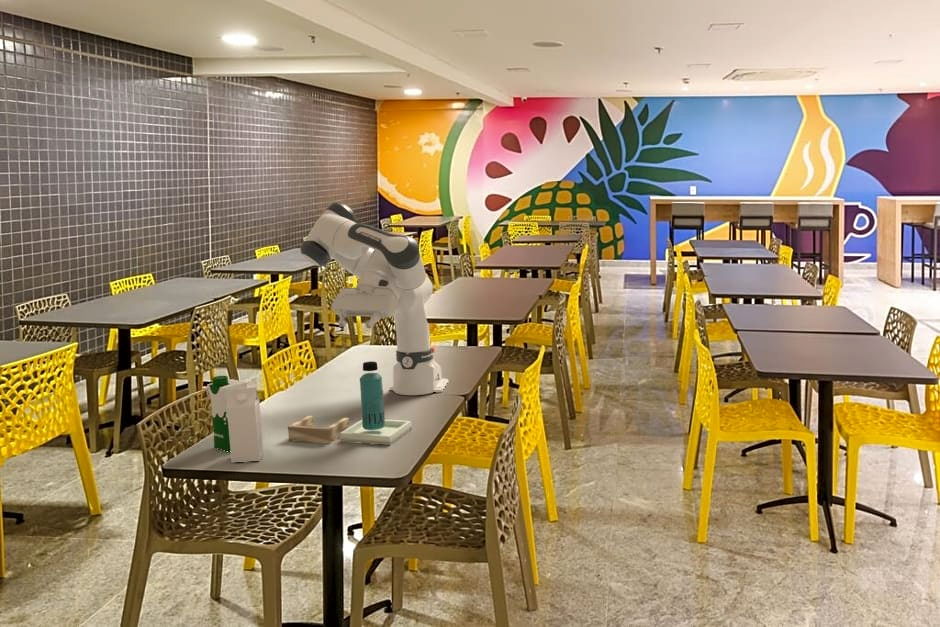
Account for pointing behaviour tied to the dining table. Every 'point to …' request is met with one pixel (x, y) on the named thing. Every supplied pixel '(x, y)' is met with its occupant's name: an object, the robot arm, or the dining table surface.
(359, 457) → the dining table surface
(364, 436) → the tray
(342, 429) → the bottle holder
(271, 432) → the dining table surface
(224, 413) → the soya milk
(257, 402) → the milk carton
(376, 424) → the beverage bottle
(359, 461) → the dining table surface
